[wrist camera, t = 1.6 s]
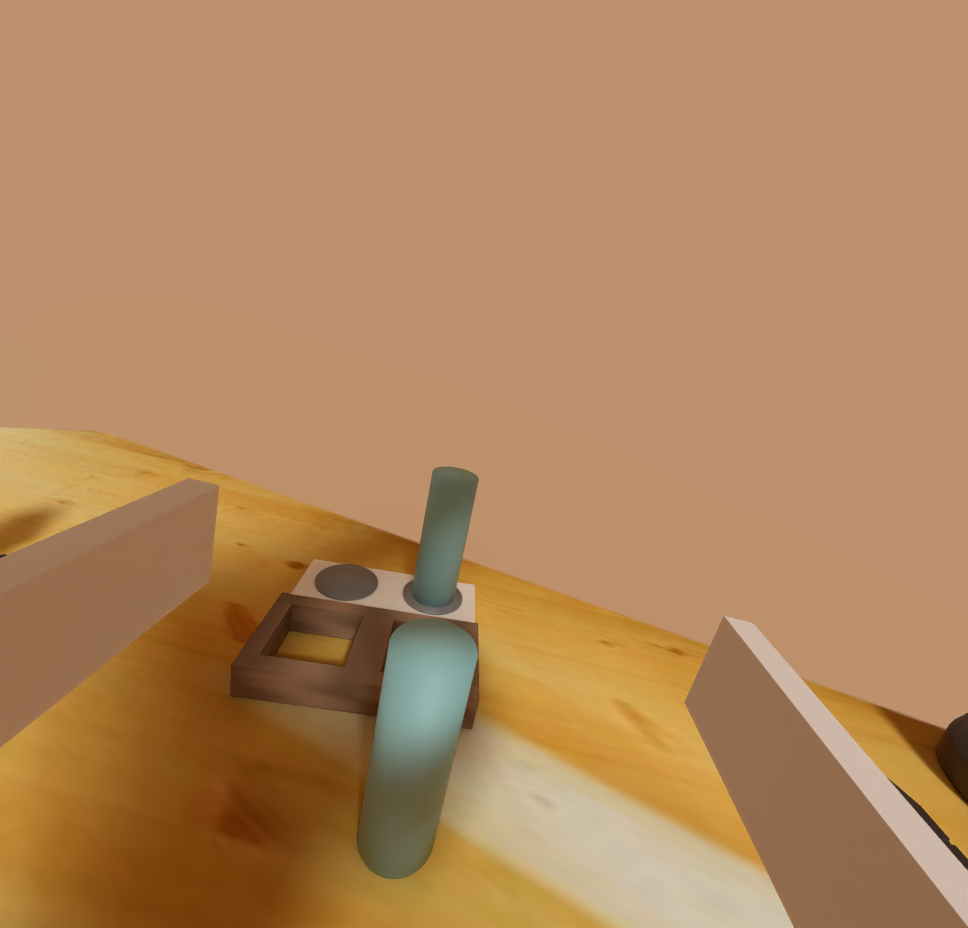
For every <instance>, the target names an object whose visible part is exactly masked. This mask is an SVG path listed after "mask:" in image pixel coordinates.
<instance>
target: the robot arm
mask: <svg viewBox="0 0 968 928" xmlns="http://www.w3.org/2000/svg"><path fill="white" fill-rule="evenodd" d="M218 493H219V486H218V485H215V484H211V483H207V482H203V481H199V480H195V479H191V478H188V479H186V480H184V481H181V482H179V483H176V484H174V485H172V486H169V487H167V488H165V489H162V490H160V491H157V492H155V493H153V494H150V495H148V496H146V497H143V498H141V499H139V500H136V501H134V502H131V503H129V504H127V505H124V506H122V507H120V508H117V509H115V510H113V511H110V512H108V513H105V514H103V515H101V516H98V517H96V518H94V519H91V520H89V521H87V522H84V523H82V524H79V525H77V526H75V527H72V528H70V529H68V530H65V531H63V532H60V533H58V534H56V535H53V536H51V537H49V538H46V539H44V540H42V541H39V542H37V543H34V544H32V545H30V546H27V547H25V548H23V549H20V550H18V551H16V552H13V553H11V554H8V555H6V554H3V555H0V747H1V746H3V745H4V744H5V743H7V742H8V741H9V740H10V739H12V738H13V737H14V736H15V735H17V734H18V733H19V732H20V731H22V730H23V729H24V728H25V727H27V726H28V725H29V724H30V723H32V722H33V721H34V720H35V719H37V718H38V717H39V716H41V715H42V714H43V713H44V712H46V711H47V710H48V709H49V708H51V707H52V706H53V705H54V704H56V703H57V702H58V701H59V700H61V699H62V698H63V697H64V696H66V695H67V694H68V693H69V692H71V691H72V690H73V689H74V688H76V687H77V686H78V685H80V684H81V683H82V682H83V681H85V680H86V679H87V678H88V677H90V676H91V675H92V674H93V673H95V672H96V671H97V670H98V669H100V668H101V667H102V666H103V665H105V664H106V663H107V662H108V661H110V660H111V659H112V658H114V657H115V656H116V655H117V654H119V653H120V652H121V651H122V650H124V649H125V648H126V647H127V646H129V645H130V644H131V643H132V642H134V641H135V640H136V639H137V638H139V637H140V636H141V635H142V634H144V633H145V632H146V631H147V630H149V629H150V628H151V627H153V626H154V625H155V624H156V623H158V622H159V621H160V620H161V619H163V618H164V617H165V616H166V615H168V614H169V613H170V612H171V611H173V610H174V609H175V608H176V607H178V606H179V605H180V604H181V603H183V602H184V601H185V600H187V599H188V598H189V597H190V596H192V595H193V594H194V593H195V592H197V591H198V590H199V589H200V588H202V587H203V586H204V585H205V584H207V583H208V582H209V581H210V572H211V562H212V553H213V543H214V533H215V523H216V513H217V503H218ZM685 704H686V706H687V708H688V710H689V712H690V714H691V716H692V718H693V720H694V722H695V724H696V727H697V729H698V731H699V733H700V735H701V737H702V739H703V741H704V743H705V745H706V747H707V749H708V751H709V753H710V755H711V757H712V759H713V761H714V764H715V766H716V768H717V770H718V772H719V774H720V776H721V778H722V780H723V782H724V784H725V786H726V788H727V790H728V792H729V794H730V796H731V799H732V801H733V803H734V805H735V807H736V809H737V811H738V813H739V815H740V817H741V819H742V821H743V823H744V825H745V827H746V829H747V831H748V834H749V836H750V838H751V840H752V842H753V844H754V846H755V848H756V850H757V852H758V854H759V856H760V858H761V860H762V862H763V864H764V866H765V869H766V871H767V873H768V875H769V877H770V879H771V881H772V883H773V885H774V887H775V889H776V891H777V893H778V895H779V897H780V899H781V901H782V903H783V906H784V908H785V910H786V912H787V914H788V916H789V918H790V920H791V922H792V924H793V926H794V928H968V859H967V858H966V857H965V856H964V855H963V854H962V852H961V851H960V850H959V849H958V848H957V847H956V846H955V845H951V844H950V842H949V838H948V837H947V835H946V834H945V833H944V832H943V831H942V830H941V829H940V828H939V826H938V825H937V824H936V823H935V822H934V821H933V820H932V819H931V817H930V816H929V815H928V814H927V813H926V812H925V811H924V809H923V808H922V807H921V806H920V805H919V804H918V803H916V802H915V801H914V800H913V799H912V798H911V797H909V796H908V795H907V794H906V793H905V792H904V791H902V790H901V789H900V788H899V787H898V786H897V785H895V784H894V783H893V782H892V781H891V780H890V779H888V778H887V777H886V776H885V775H884V774H883V773H882V771H881V770H880V769H879V768H878V767H877V766H876V764H875V763H874V762H873V761H872V760H871V759H870V758H869V756H868V755H867V754H866V753H865V752H864V751H863V749H862V748H861V747H860V746H859V745H858V744H857V743H856V741H855V740H854V739H853V738H852V737H851V736H850V734H849V733H848V732H847V731H846V730H845V729H844V728H843V726H842V725H841V724H840V723H839V722H838V721H837V719H836V718H835V717H834V716H833V715H832V714H831V713H830V711H829V710H828V709H827V708H826V707H825V706H824V704H823V703H822V702H821V701H820V700H819V699H818V698H817V696H816V695H815V694H814V693H813V692H812V691H811V689H810V688H809V687H808V686H807V685H806V684H805V683H804V681H803V680H802V679H801V678H800V677H799V676H798V674H797V673H796V672H795V671H794V670H793V669H792V668H791V666H790V665H789V664H788V663H787V662H786V661H785V659H784V658H783V657H782V656H781V655H780V654H779V653H778V651H777V650H776V649H775V648H774V647H773V646H772V644H771V643H770V642H769V641H768V640H767V639H766V638H765V637H764V636H763V634H762V633H761V632H760V631H759V629H758V628H757V627H756V626H755V625H754V624H753V623H751V622H747V621H743V620H739V619H735V618H731V617H727V616H724V617H723V619H722V621H721V624H720V626H719V628H718V630H717V632H716V634H715V636H714V639H713V641H712V643H711V645H710V647H709V650H708V652H707V654H706V656H705V658H704V661H703V663H702V665H701V667H700V669H699V672H698V674H697V676H696V678H695V681H694V683H693V685H692V687H691V689H690V692H689V694H688V696H687V698H686V700H685ZM936 751H937V756H938V759H939V762H940V764H941V766H942V768H943V769H944V771H945V773H946V774H947V776H948V777H949V779H950V780H951V781H952V783H953V784H954V785H955V787H956V788H957V789H958V790H959V791H960V793H961V794H962V795H963V796H964V797H965V798H966V799H967V800H968V713H967V714H965V715H963V716H961V717H959V718H957V719H955V720H954V721H953V722H951V724H949V726H948V728H947V729H946V731H945V732H944V734H943V735H942V737H941V738H940V740H939V741H938V743H937V747H936Z"/></svg>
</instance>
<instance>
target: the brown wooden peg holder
mask: <svg viewBox="0 0 968 928" xmlns="http://www.w3.org/2000/svg"><path fill="white" fill-rule="evenodd" d="M422 618H433V619H440V620H444V621H448V622H450V623H453V624H455V625H457V626H459V627H460V628H462V629H463V630H465V631H466V632H467V633H468V634H469V635H470V636H471V637H472V638H473V640H474V642H475V644H476V646H477V650H478V623H473V622H467V621H460V620H454V619H447V618H441V617H435V616H428V615H422V614H415V613H409V612H403V611H396V610H390V609H383V608H377V607H371V606H364V605H358V604H352V603H345V602H339V601H332V600H326V599H320V598H313V597H307V596H300V595H294V594H288V593H282V594H281V595H280V596H279V598H278V599H277V601H276V602H275V604H274V605H273V606H272V608H271V609H270V611H269V612H268V614H267V615H266V616H265V618H264V619H263V621H262V622H261V623H260V625H259V626H258V628H257V629H256V631H255V632H254V633H253V635H252V636H251V638H250V639H249V641H248V642H247V643H246V645H245V646H244V648H243V649H242V651H241V652H240V653H239V655H238V656H237V658H236V659H235V661H234V662H233V663H232V665H231V688H230V696H235V697H242V698H249V699H257V700H264V701H271V702H278V703H286V704H293V705H300V706H307V707H315V708H322V709H329V710H337V711H344V712H351V713H358V714H366V715H373V716H377V713H378V707H379V701H380V695H381V689H382V682H383V676H384V672H383V669H384V666H385V662H386V658H387V652H388V646H389V640H390V637H391V635H392V634H393V632H394V631H395V630H396V629H397V628H398V627H399V626H401V625H402V624H404V623H406V622H409V621H412V620H416V619H422ZM289 631H296V632H303V633H309V634H316V635H323V636H329V637H336V638H343V639H349V640H354V642H353V645H352V647H351V650H350V653H349V655H348V658H347V661H346V663H345V666H344V667H342V666H335V665H329V664H322V663H315V662H308V661H301V660H294V659H287V658H281V657H274V655H275V654H276V652H277V650H278V649H279V647H280V645H281V644H282V642H283V640H284V639H285V637H286V635H287V634H288V632H289ZM478 702H479V660H478V658H477V662H476V667H475V671H474V675H473V679H472V684H471V688H470V692H469V696H468V700H467V705H466V709H465V713H464V717H463V722H462V726H461V728H467V729H472V727H473V722H474V718H475V714H476V710H477V706H478Z"/></svg>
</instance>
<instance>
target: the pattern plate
mask: <svg viewBox="0 0 968 928" xmlns="http://www.w3.org/2000/svg"><path fill="white" fill-rule="evenodd" d="M413 581H414V575H410V574H404V573H398V572H391V571H385V570H379V569H373V568H367V567H362V566H358V565H352V564H342V563H336V562H330V561H324V560H318V559H314V560H313V561H312V563H311V564H310V566H309V567H308V569H307V570H306V572H305V573H304V575H303V576H302V578H301V579H300V581H299V582H298V584H297V585H296V587H295V588H294V590H293V591H292V593H291V594H294V595H300V596H307V597H313V598H320V599H326V600H332V601H339V602H345V603H352V604H358V605H364V606H371V607H377V608H383V609H390V610H396V611H403V612H409V613H415V614H422V615H428V616H435V617H441V618H447V619H454V620H460V621H467V622H473V623H475V585H471V584H465V583H459V582H457V586H456V591H455V596H454V600H453V602H452V603H451V604H449V605H447V606H445V607H438V608H435V607H428V606H425V605H422V604H420V603H418V602H417V601H416V600H415V599H414V598H413V596H412V586H413Z"/></svg>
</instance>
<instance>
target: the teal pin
mask: <svg viewBox="0 0 968 928" xmlns="http://www.w3.org/2000/svg"><path fill="white" fill-rule="evenodd" d="M477 658H478V650H477V646H476V644H475V642H474V640H473V638H472V637H471V636H470V635H469V634H468V633H467V632H466V631H465V630H463V629H462V628H460V627H459V626H457V625H455V624H453V623H450V622H448V621H444V620H440V619H433V618H422V619H416V620H412V621H409V622H406V623H404V624H402V625H401V626H399V627H398V628H397V629H396V630H395V631H394V632H393V634H392V635H391V637H390V640H389V646H388V652H387V658H386V664H385V670H384V676H383V682H382V689H381V695H380V701H379V707H378V713H377V719H376V725H375V731H374V737H373V743H372V750H371V756H370V762H369V768H368V774H367V780H366V786H365V792H364V798H363V804H362V811H361V817H360V823H359V829H358V835H357V844H358V850H359V853H360V856H361V858H362V860H363V862H364V863H365V865H366V866H367V867H368V868H369V869H370V870H371V871H372V872H373V873H375V874H377V875H379V876H381V877H384V878H388V879H399V878H404V877H407V876H409V875H411V874H413V873H415V872H416V871H417V870H419V869H420V868H421V867H422V866H423V865H424V863H425V862H426V861H427V859H428V857H429V856H430V854H431V851H432V848H433V844H434V840H435V836H436V832H437V827H438V823H439V819H440V815H441V810H442V806H443V802H444V798H445V794H446V789H447V785H448V781H449V777H450V772H451V768H452V764H453V760H454V755H455V751H456V747H457V743H458V739H459V734H460V730H461V726H462V722H463V717H464V713H465V709H466V705H467V700H468V696H469V692H470V688H471V684H472V679H473V675H474V671H475V667H476V662H477Z"/></svg>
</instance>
